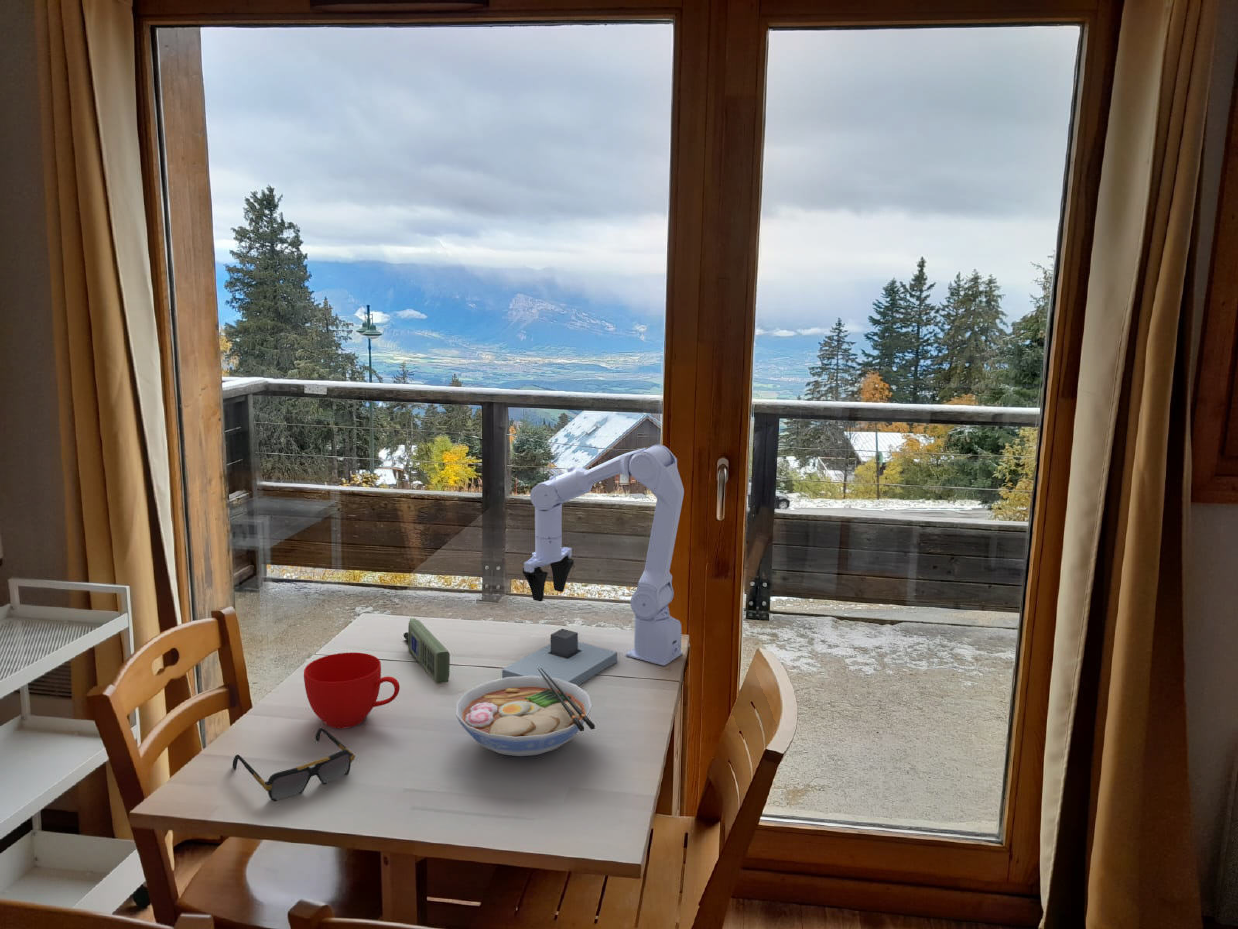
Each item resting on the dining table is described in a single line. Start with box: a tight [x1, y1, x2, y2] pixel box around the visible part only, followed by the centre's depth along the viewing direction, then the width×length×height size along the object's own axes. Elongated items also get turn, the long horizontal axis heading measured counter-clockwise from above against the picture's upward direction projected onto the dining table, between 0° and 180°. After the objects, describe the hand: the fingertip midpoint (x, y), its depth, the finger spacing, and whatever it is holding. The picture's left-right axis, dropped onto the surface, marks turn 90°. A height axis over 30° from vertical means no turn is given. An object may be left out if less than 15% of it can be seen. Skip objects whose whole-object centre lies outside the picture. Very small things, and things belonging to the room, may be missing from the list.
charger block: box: [550, 628, 579, 659], centre depth 185 cm, size 4×4×6 cm
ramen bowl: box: [455, 668, 596, 757], centre depth 150 cm, size 25×23×8 cm
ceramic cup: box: [303, 651, 401, 729], centre depth 157 cm, size 13×17×10 cm
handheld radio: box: [403, 617, 451, 684], centre depth 184 cm, size 7×3×25 cm
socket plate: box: [501, 641, 618, 687], centre depth 180 cm, size 14×20×2 cm
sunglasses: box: [232, 727, 356, 802], centre depth 141 cm, size 14×15×5 cm
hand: (548, 595), depth 197 cm, fingers open, 7 cm apart
